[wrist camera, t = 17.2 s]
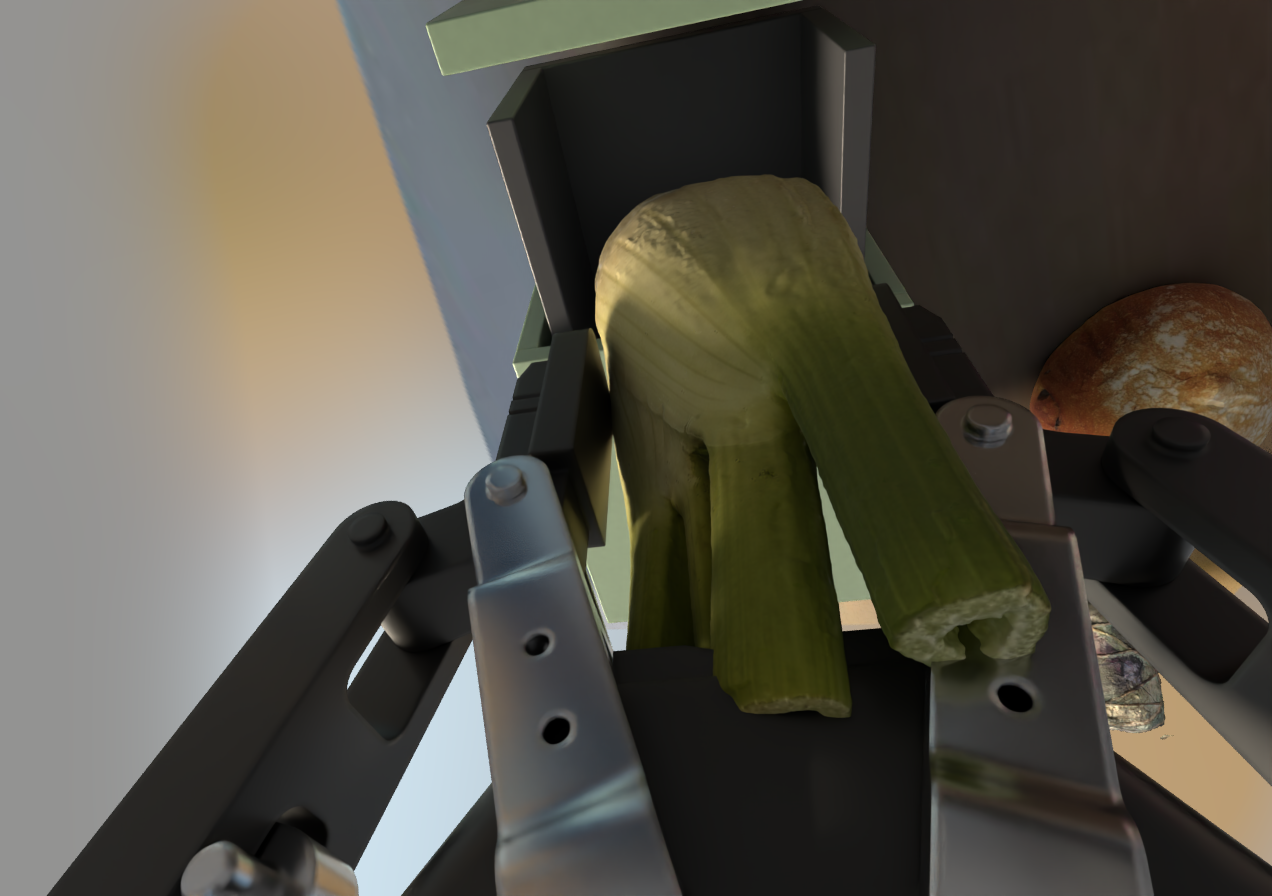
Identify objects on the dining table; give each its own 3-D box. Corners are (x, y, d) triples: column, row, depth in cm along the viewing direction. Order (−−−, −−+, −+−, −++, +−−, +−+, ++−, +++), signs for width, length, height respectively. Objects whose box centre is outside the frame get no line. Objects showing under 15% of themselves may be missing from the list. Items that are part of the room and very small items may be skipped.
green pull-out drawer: (420, -246, 18) (313, -306, 13) (846, -365, 17) (950, -498, 11) (582, 344, 31) (567, 451, 25) (832, 307, 30) (877, 410, 24)
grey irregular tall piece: (1069, 576, 44) (1289, 935, 29) (899, 587, 45) (1025, 939, 30) (1111, 493, 39) (1406, 880, 24) (917, 508, 40) (1081, 886, 25)
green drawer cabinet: (545, 243, 29) (511, 363, 22) (844, 192, 27) (915, 303, 20) (615, 487, 39) (607, 624, 32) (836, 460, 37) (881, 598, 30)
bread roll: (1187, 352, 36) (1371, 393, 29) (1059, 490, 37) (1205, 562, 30) (1118, 234, 32) (1315, 248, 25) (975, 395, 33) (1123, 453, 26)
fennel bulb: (780, 93, 13) (1080, 573, 4) (860, 285, 16) (1146, 826, 7) (549, 237, 15) (399, 768, 6) (655, 384, 18) (662, 901, 9)
